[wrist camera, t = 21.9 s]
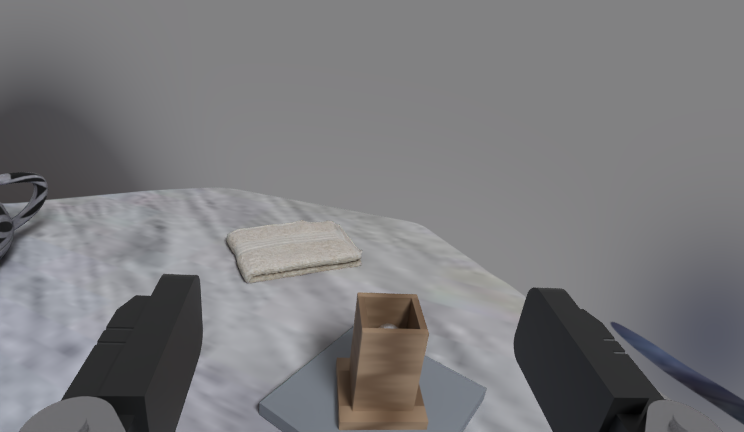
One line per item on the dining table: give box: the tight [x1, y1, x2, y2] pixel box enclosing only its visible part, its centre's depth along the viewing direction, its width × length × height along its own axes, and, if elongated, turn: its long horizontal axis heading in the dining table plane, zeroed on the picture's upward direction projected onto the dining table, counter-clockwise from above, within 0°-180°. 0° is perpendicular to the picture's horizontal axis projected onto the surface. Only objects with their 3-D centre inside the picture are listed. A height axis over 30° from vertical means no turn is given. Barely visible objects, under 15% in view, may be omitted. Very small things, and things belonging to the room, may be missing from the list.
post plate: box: [259, 324, 487, 432], centre depth 45 cm, size 16×16×10 cm
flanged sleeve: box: [336, 293, 429, 430], centre depth 44 cm, size 8×8×10 cm
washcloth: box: [226, 220, 362, 283], centre depth 71 cm, size 12×18×3 cm, turn 116°
